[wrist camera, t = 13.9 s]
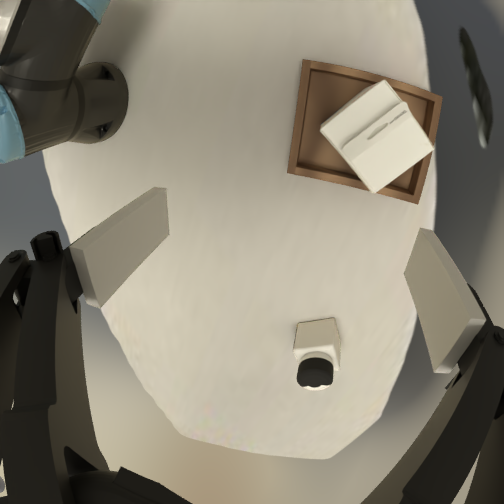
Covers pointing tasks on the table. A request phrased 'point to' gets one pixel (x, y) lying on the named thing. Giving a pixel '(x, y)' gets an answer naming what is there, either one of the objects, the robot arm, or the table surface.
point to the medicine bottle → (317, 353)
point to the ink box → (377, 135)
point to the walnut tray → (330, 101)
